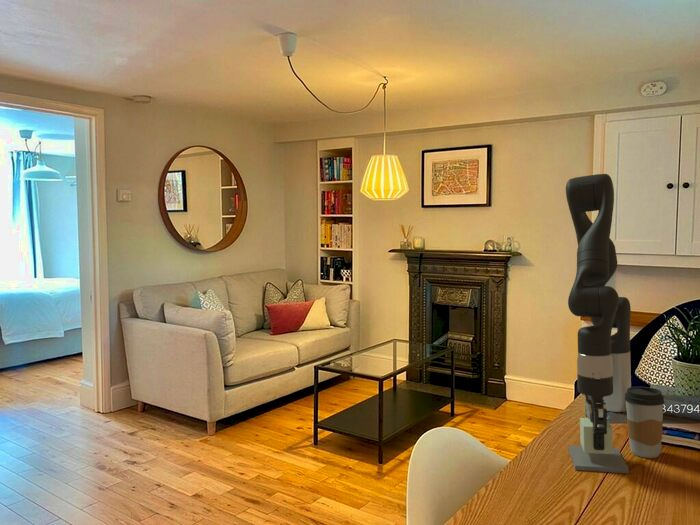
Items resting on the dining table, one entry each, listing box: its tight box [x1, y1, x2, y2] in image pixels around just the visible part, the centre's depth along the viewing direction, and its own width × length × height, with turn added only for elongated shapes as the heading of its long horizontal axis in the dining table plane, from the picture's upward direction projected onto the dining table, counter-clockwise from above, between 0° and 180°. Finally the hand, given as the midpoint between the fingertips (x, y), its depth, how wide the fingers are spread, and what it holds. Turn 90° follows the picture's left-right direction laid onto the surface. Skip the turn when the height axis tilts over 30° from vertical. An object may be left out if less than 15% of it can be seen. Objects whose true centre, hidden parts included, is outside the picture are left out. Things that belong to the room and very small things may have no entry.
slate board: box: [568, 445, 630, 474], centre depth 127 cm, size 12×11×1 cm
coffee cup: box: [625, 386, 665, 459], centre depth 130 cm, size 8×8×15 cm
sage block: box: [579, 417, 614, 454], centre depth 127 cm, size 6×6×6 cm
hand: (596, 443), depth 127 cm, fingers closed on sage block, 6 cm apart
